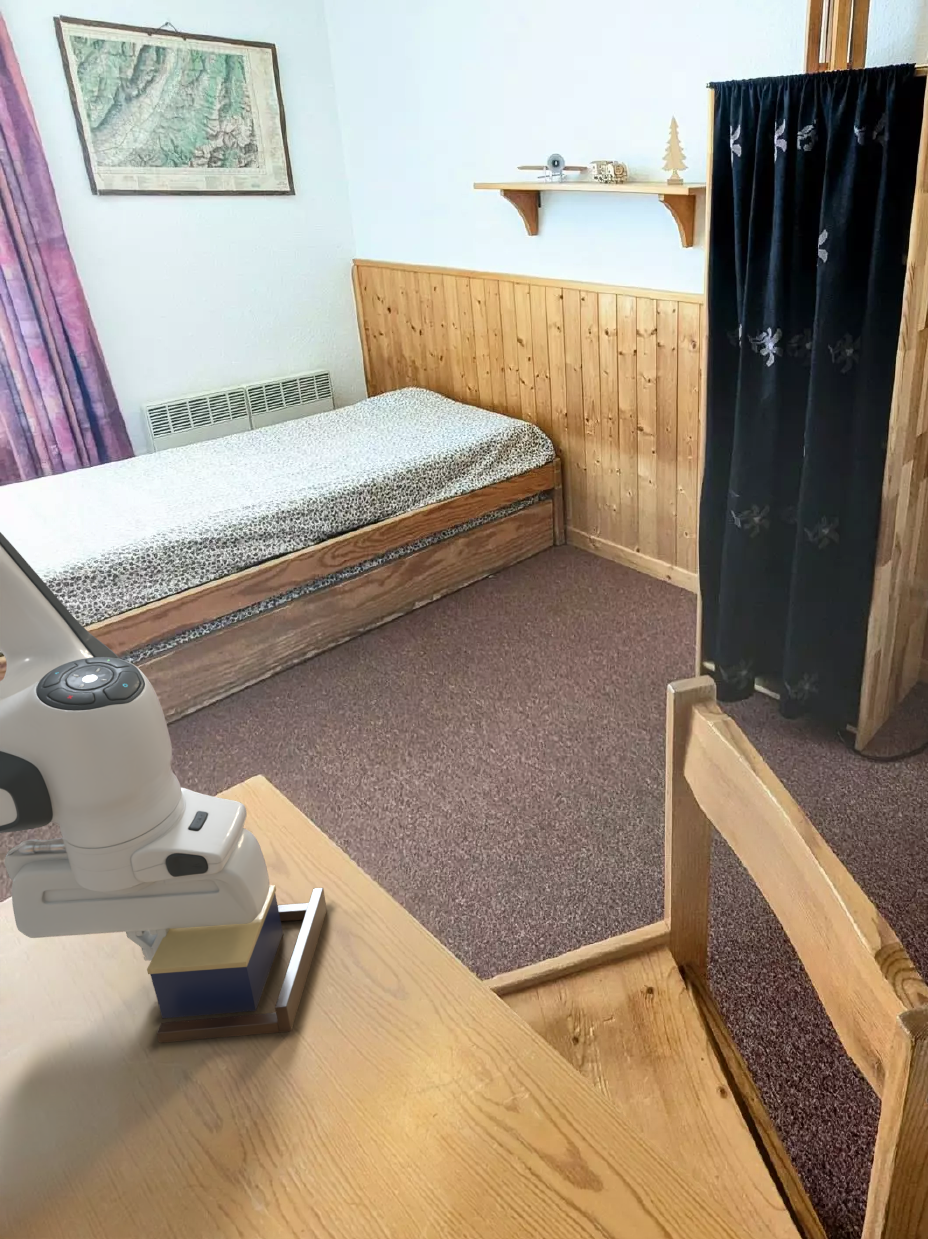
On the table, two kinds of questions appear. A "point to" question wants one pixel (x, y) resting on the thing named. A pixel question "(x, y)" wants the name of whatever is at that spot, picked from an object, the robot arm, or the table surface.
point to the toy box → (216, 965)
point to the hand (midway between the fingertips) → (159, 954)
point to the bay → (288, 994)
